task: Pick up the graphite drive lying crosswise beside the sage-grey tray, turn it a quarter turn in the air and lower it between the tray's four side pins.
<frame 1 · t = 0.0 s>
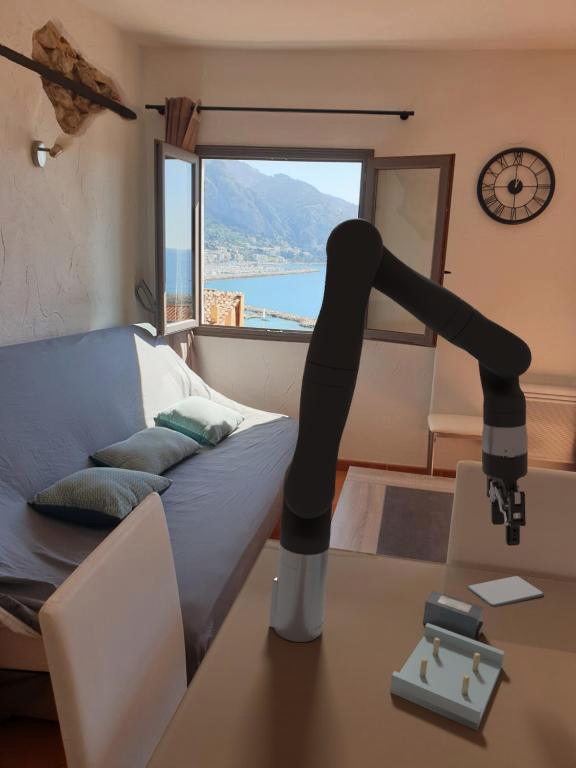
hand: (504, 533, 106), 22 cm above the table, tool pointing down, fingers open, 8 cm apart
tray: (448, 679, 100), on the table
smartphone: (504, 593, 130), on the table
drive: (451, 627, 115), on the table
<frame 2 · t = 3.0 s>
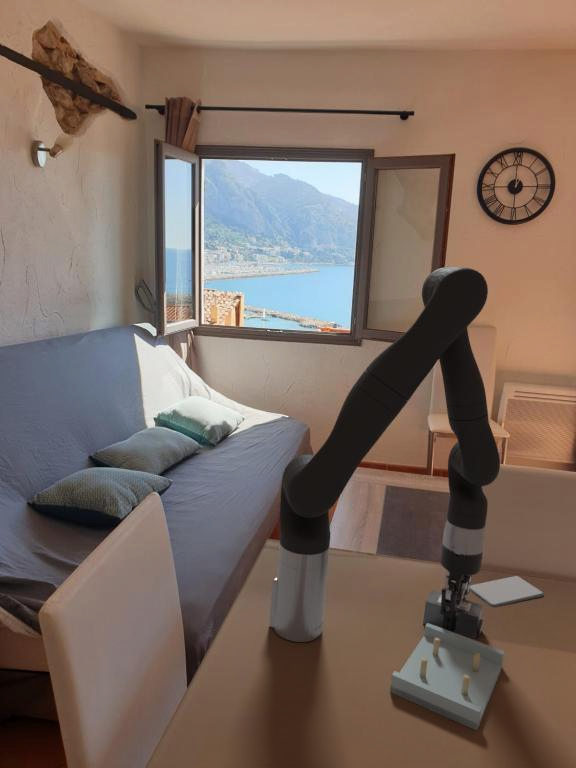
hand: (452, 624, 115), 1 cm above the table, tool pointing down, fingers closed on drive, 5 cm apart
drive: (451, 626, 116), on the table, touching gripper
everything else where it was.
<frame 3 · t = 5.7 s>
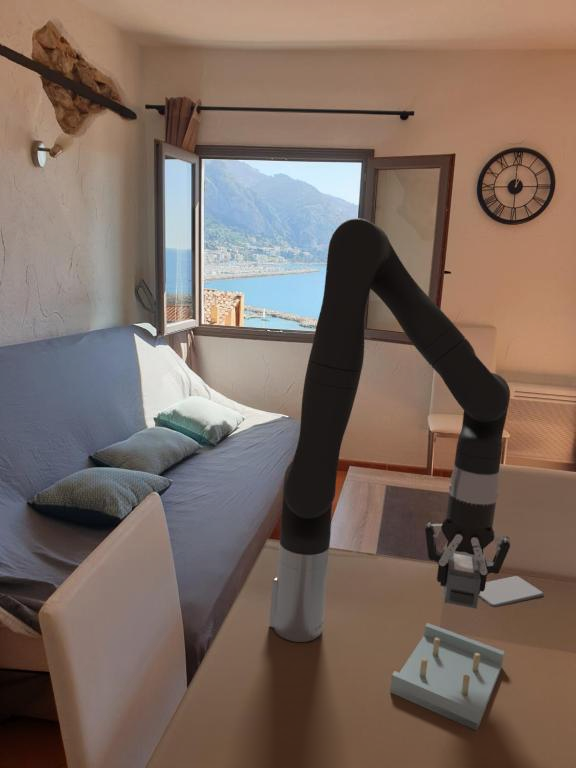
hand: (459, 587, 100), 15 cm above the table, tool pointing down, fingers closed on drive, 5 cm apart
drive: (459, 590, 100), point 15 cm above the table, touching gripper
everything else where it was.
when the fingers open (3 cm above the table, at t = 8.4 s): drive drops 1 cm, resting on tray.
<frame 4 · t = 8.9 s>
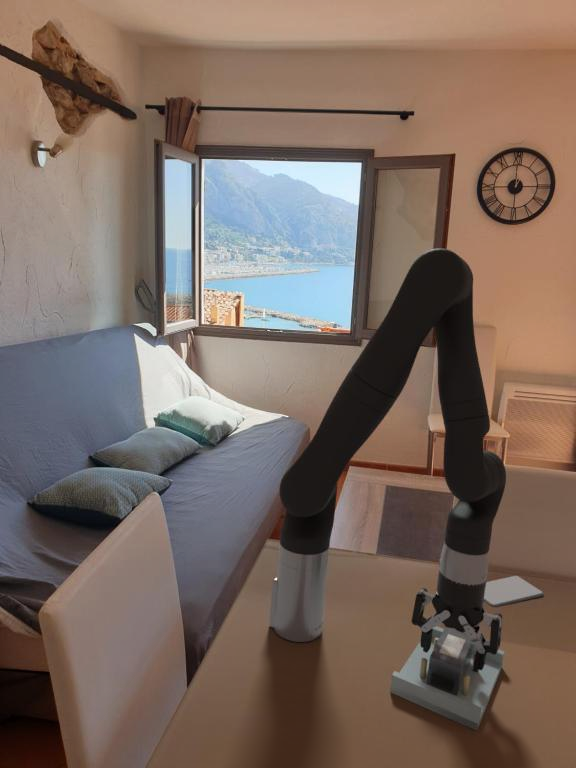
hand: (451, 659, 99), 4 cm above the table, tool pointing down, fingers open, 8 cm apart
drive: (449, 672, 100), point 1 cm above the table, touching tray
everything else where it was.
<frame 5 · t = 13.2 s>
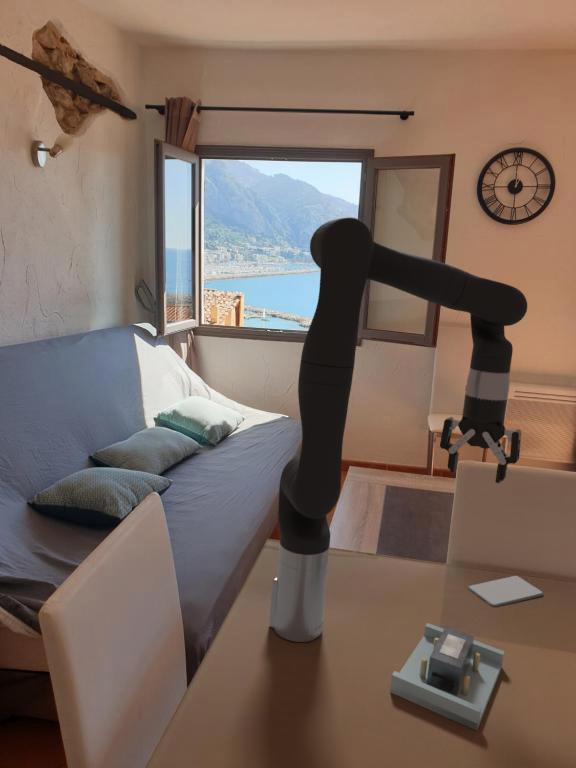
hand: (475, 476, 112), 30 cm above the table, tool pointing down, fingers open, 8 cm apart
nothing on the table moved.
at the end: drive 0.1 cm off-centre on the tray, point 1.2 cm above the tray's base; drive tilted 0°; the gripper is holding nothing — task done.
